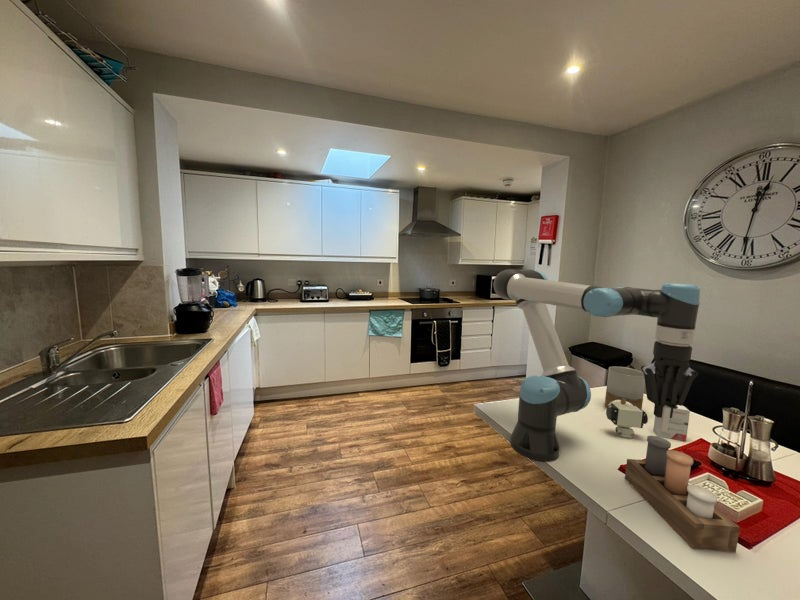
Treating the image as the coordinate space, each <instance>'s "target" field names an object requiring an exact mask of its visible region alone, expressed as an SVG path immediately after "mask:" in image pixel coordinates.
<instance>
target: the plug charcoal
mask: <svg viewBox="0 0 800 600" xmlns="http://www.w3.org/2000/svg"><path fill="white" fill-rule="evenodd" d="M646 442H647V447H646V455H645V460H646V461H645V470H646V471H647V472H648V473H649V474H650V475H651V476H660V477H665V472H666V465H667V458H668V457H667V456H666V453H667V451H668V450H670V449H671V448H672V447H671V446H672V443H671V442H670V441H669V440H668V439H667V438H664V437H660V436H657V435H647V437H646Z"/></svg>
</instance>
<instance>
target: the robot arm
mask: <svg viewBox="0 0 800 600" xmlns="http://www.w3.org/2000/svg"><path fill="white" fill-rule="evenodd" d="M493 289H494V292H495V294H496V295H497V296H498V297H499V298H501V299H503V300H507V301H508V300H511V301H514V302H515V304H516V307H517V309H520V310H521V311H522V312H523V315H524V319H525V321H526V324H527V326H528V329H529V332H530V336H531V338H532V342H533V344H534V347H535V351H536V353H537V356H538V359H539V361H540V364H541V367H542V374H541V375H539V376H538V375H531V376H528V377H525V378H524V379H523V380H522V381H521V383H520V388H519V391H518V394H519V396H518V397H519V399H518V409H517V410H518V411H517V412H518V413H517V422H516V424H515V426H514V428H513V430H512V433H511V435H510V441H509V442H510V447H511V448H512V449H513V450H514V451H515V452H516V453H517V454H519V455H521V456H523V457H524V458H527V459H530V460H533V461H537V462H552V461H555V460H557V459H559V457H560V452H561V451H560V450H561V449H560V444H559V443H560V442H559V439H558V435H557V432H556V427H557V426H556V425H557V417H558V416H562V415H566V414H570V413H575V412H576V413H577V412H579V411H581V410H582V409H583V410H584V409H585V408H586V407H587V406H588V405H589V403H590V401H591V399H592V390H591V387H590V385H589V384H588V382H587V381H586V380H585V379H583V377H582V376H579V375H578V372H577V371H576V369H575V368H574V367H572V366H570V364H569V363H568V359H567V358H566V357H567V356H566V355H565V352H564V349H563V347H562V343H561V341H560V338H559V335H558V333H557V330H556V327H555V324H554V323H553V320H552V317H551V313H550V311H549V309H548V306H547V305H551V306H554V307H555V306H556V307H561V308H566V309H572V310H575V311H580V312H586V313H589V315H592V316H594V317H598V318H599V317H600V318H609V317H616V316H617V317H618V316H619V317H620V316H633V315H635V316H640V317H641V316H644V317H651V318H657V319H656V320H657V321H656V328H655V334H654V339H655V341H654V342H653V350H652V354H653V359H652V360H651V362H650V364H649V365H646V366H645V365H642V366H640V371H641V372H643V373H644V378H645V393H646V398H647V401H648V402H649V401H650V402H651V403H653V404H654V408H653V416H654V420H655V425H654V424H653V427H654V426H655V427H657V428H658V429H660V430H661V431H668V425H669V418H672V414H673V409H677V408H678V407H677V405H680V406H684V403H685V401H686V398H687V396H688V394H689V391H690V389H691V386H692V384H693V381H694V380H695V379H696V378H697V377H698V376H699V372H698V371H696V370H694V369H693V368H691V367H690V363H689V361H690V360H691V359H692V352H693V347H692V346H691V345H693V344H694V339H695V331H696V324H697V318H698V313H699V308H700V303H701V301H700V298H701V297H700V296H701V288H700V287H699V286H698V285H696V284H689V283H674V282H673V283H668V282H666V283H663V284H662V285H661V288H660V289H650V288H638V287H631V286H618V287H605V286H597V285H596V286H595V285H587V284H581V283H573V282H567V281H566V282H564V281H556V280H549V279H548V277H547V276H546V275H545V274H544V273H543V272H542V271H539V270H535V269H514V268H513V269H504V270H501V271H500V272H499V273H498V274H496V276H495V278H494V280H493ZM655 416H656V417H655Z"/></svg>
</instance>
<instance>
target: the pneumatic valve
mask: <svg viewBox="0 0 800 600" xmlns="http://www.w3.org/2000/svg"><path fill="white" fill-rule="evenodd" d="M605 415H606V418H607V420H609V421H610V422H612V424H613V425H614V426H615V428H614V431H615V434H617V435H619V437H621V438H625V439H626V438H627V439H632V438H633V436H634V435H635V430H634V429H633V428H637V429H643V427H644V426H645V425H647V424H648V422H649V417H648V414H647V412H646V411H645V410H643V408H642V409H640V408H639V407H638V406H633V405H632V404H631V405H630V404H628V403H626V404H624V405H622V404H620V403H612V402H611V403H610V405H609V406H608V408H606V411H605Z"/></svg>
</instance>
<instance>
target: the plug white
mask: <svg viewBox="0 0 800 600" xmlns="http://www.w3.org/2000/svg"><path fill="white" fill-rule="evenodd" d="M687 492H688V498H687V505H686V508H687V509H688V510H690V511H691V512H692V513H693V514H694V515H695V516H696V517H697V518H709V519H712V518H713V511H714V506H715V504H717V503H718V496H717V494H715V493H714V492H713V491H712V490H710V489H708V488H706V487H703V486H701V485H697V484H688V486H687Z"/></svg>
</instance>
